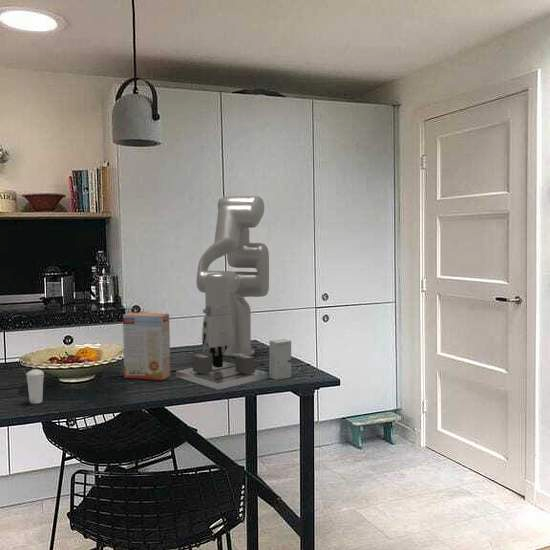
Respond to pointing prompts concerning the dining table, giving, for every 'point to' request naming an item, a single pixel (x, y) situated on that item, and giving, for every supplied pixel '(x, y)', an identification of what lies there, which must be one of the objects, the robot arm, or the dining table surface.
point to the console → (221, 376)
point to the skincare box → (280, 359)
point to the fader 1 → (202, 363)
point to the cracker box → (146, 346)
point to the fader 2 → (245, 364)
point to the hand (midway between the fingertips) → (217, 366)
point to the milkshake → (35, 385)
